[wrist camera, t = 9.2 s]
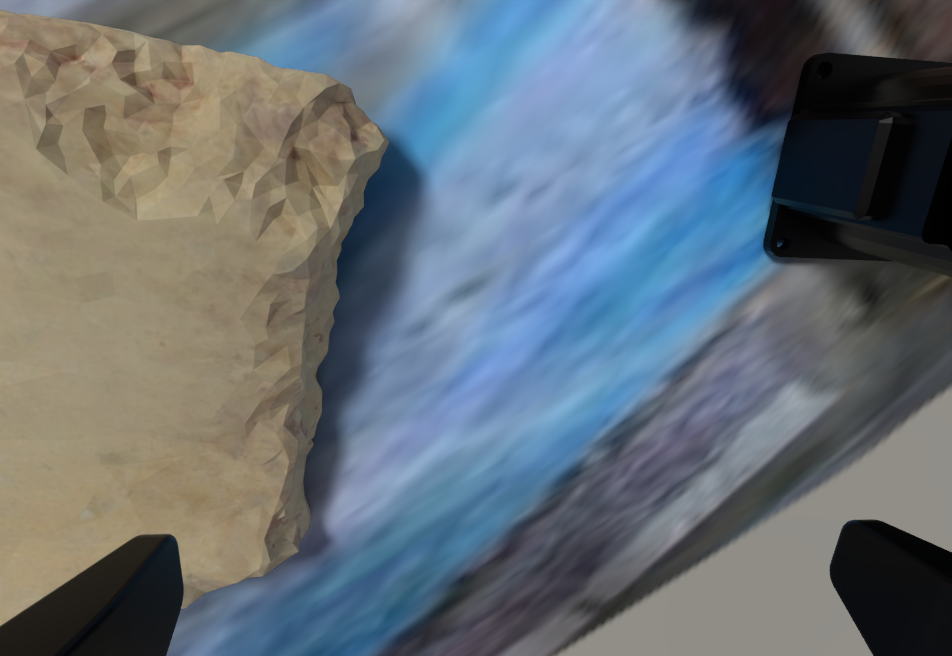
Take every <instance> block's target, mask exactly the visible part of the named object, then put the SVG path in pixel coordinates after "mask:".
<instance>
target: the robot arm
mask: <svg viewBox="0 0 952 656" xmlns="http://www.w3.org/2000/svg"><path fill="white" fill-rule="evenodd" d="M820 64H822V65H823V67H824V72H823V75H822V76H821V77H820V78H819V77H818V75H817V69H818V67H819V65H820ZM772 197H773V202H772V206H771V211H770V215H769V219H768V224H767V228H766V233H765V237H764V248H765V250H766V251H767V252H768V253H770V254H773V255H775V256H779V257H796V258H823V259H849V260H876V261H896V262H899V263H903V264H906V265H910V266H914V267H917V268H921V269H924V270H928V271H932V272H935V273H939V274H942V275H946V276H949V277H952V63H944V62H932V61H921V60H909V59H897V58H885V57H873V56H861V55H849V54H837V53H824V54H818V55H814V56H812V57H811V58H809V59H808V60H807V61H806V63H805V64H804V66H803V69H802V72H801V77H800V81H799V86H798V90H797V95H796V99H795V104H794V108H793V112H792V117H791V120H790V121H789V122H788V125H787V129H786V134H785V138H784V143H783V147H782V152H781V156H780V161H779V165H778V169H777V174H776V178H775V183H774V187H773V192H772ZM782 236H783V237H784V242H783V244H782V245H781V246H780V247H777V241H778V239H779V238H780V237H782ZM830 577H831V581H832V583H833V586H834V588H835V589H836V591H837V593H838V595H839V596H840V598H841V600H842V602H843V603H844V605H845V607H846V609H847V610H848V612H849V614H850V616H851V617H852V619H853V621H854V622H855V624H856V626H857V628H858V630H859V631H860V633H861V635H862V637H863V638H864V640H865V642H866V644H867V645H868V647H869V649H870V651H871V652H872V654H873V656H952V552H949V551H947V550H945V549H943V548H941V547H938V546H936V545H934V544H932V543H929V542H927V541H925V540H922V539H920V538H918V537H916V536H914V535H911V534H909V533H907V532H905V531H902V530H900V529H898V528H896V527H894V526H891V525H889V524H887V523H884V522H882V521H879V520H852V521H849V522H847V523H846V524H845V525H844V526H843V528H842V530H841V533H840V536H839V539H838V542H837V545H836V548H835V551H834V555H833V557H832V561H831V564H830ZM183 595H184V584H183V577H182V569H181V562H180V555H179V547H178V542H177V540H176V538H175V537H174V536H173V535H171V534H143V535H138V536H136V537H134V538H132V539H131V540H129V541H128V542H126V543H125V544H123V545H121V546H120V547H118V548H117V549H115V550H114V551H112V552H111V553H109V554H108V555H106V556H105V557H103V558H102V559H100V560H99V561H97V562H96V563H94V564H93V565H91V566H90V567H88V568H87V569H85V570H84V571H82V572H81V573H79V574H78V575H76V576H75V577H73V578H72V579H70V580H69V581H67V582H66V583H64V584H63V585H61V586H60V587H58V588H57V589H55V590H54V591H52V592H51V593H49V594H48V595H46V596H45V597H43V598H42V599H40V600H38V601H37V602H35V603H34V604H32V605H31V606H29V607H28V608H26V609H25V610H23V611H22V612H20V613H19V614H17V615H16V616H14V617H13V618H11V619H10V620H8V621H7V622H5V623H4V624H2V625H1V626H0V656H166V654H167V651H168V648H169V645H170V642H171V638H172V635H173V632H174V629H175V626H176V623H177V620H178V616H179V613H180V610H181V607H182V602H183Z"/></svg>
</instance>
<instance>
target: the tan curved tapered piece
mask: <svg viewBox="0 0 952 656" xmlns="http://www.w3.org/2000/svg"><path fill="white" fill-rule="evenodd" d="M388 144H389V142H388V139H387V138H386V136H385V135H384V134H383V132H382V131H381V129H380V128H379V127H378V125H376V124H375V123H373V122H371V121H370V119H369V118H368V117H367V116H366V114H365V113H364V112H363V111H362V110H361V109H360V108H359V107H357V106H356V103H355V100H354V97H353V93H352V90H351V88H349V87H347V86H346V85H344V84H342V83H341V82H339V81H337V80H335V79H334V78H332V77H330V76H329V75H326V74H320V73H313V72H307V71H301V70H294V69H286V68H278V67H275V66H273V65H271V64H269V63H267V62H266V61H264V60H262V59H260V58H258V57H254V56H249V55H244V54H239V53H234V52H230V51H229V52H224V53H219V52H217V51H214V50H211V49H209V48H206V47H204V46H201V45H195V46H182V45H179V44H176V43H173V42H170V41H167V40H162V39H157V38H152V37H148V36H145V35H141V34H138V33H135V32H131V31H127V30H122V29H117V28H112V27H106V26H101V25H96V24H91V23H85V22H78V21H71V20H64V19H57V18H50V17H44V16H37V15H30V14H16V13H11V12H7V11H3V10H0V626H1V625H2V624H4V623H5V622H7V621H8V620H10V619H11V618H13V617H14V616H16V615H17V614H19V613H20V612H22V611H23V610H25V609H26V608H28V607H29V606H31V605H32V604H34V603H35V602H37V601H38V600H40V599H42V598H43V597H45V596H46V595H48V594H49V593H51V592H52V591H54V590H55V589H57V588H58V587H60V586H61V585H63V584H64V583H66V582H67V581H69V580H70V579H72V578H73V577H75V576H76V575H78V574H79V573H81V572H82V571H84V570H85V569H87V568H88V567H90V566H91V565H93V564H94V563H96V562H97V561H99V560H100V559H102V558H103V557H105V556H106V555H108V554H109V553H111V552H112V551H114V550H115V549H117V548H118V547H120V546H121V545H123V544H125V543H126V542H128V541H129V540H131V539H132V538H134V537H136V536H138V535H143V534H171V535H173V536H174V537H175V538H176V540H177V542H178V547H179V555H180V562H181V569H182V577H183V584H184V595H183V602H182V607H181V608H183V609H185V608H187V607H188V606H189V605H191V604H192V603H193V602H195V601H196V600H197V599H199V598H200V597H201V596H203V595H204V594H205V593H206V592H209V591H212V590H215V589H218V588H221V587H225V586H228V585H231V584H235V583H238V582H240V581H243V580H245V579H247V578H251V577H262V576H264V575H265V574H267V573H268V572H270V571H271V570H273V569H274V568H276V567H277V566H279V565H280V564H281V563H283V562H284V561H285V560H287V559H288V558H290V557H291V556H292V555H294V554H295V553H297V552H299V544H300V542H301V540H302V538H303V537H304V535H305V533H306V531H307V530H308V528H309V526H310V509H309V506H308V503H307V500H306V498H305V495H304V484H303V478H304V472H305V465H306V458H307V455H308V453H309V452H310V450H311V448H312V447H313V445H314V443H313V442H312V440H311V439H312V438H313V437H314V435H315V431H316V427H317V423H318V421H319V418H320V416H321V414H322V389H321V387H320V385H319V383H318V382H317V380H316V375H317V369H318V366H319V365H320V363H321V362H322V361H323V359H324V357H325V356H326V354H327V352H328V345H329V334H330V331H331V329H332V327H333V324H334V322H335V321H334V317H333V310H334V308H335V306H336V304H337V302H338V300H339V298H340V295H339V290H338V288H337V285H336V277H337V259H338V256H339V254H340V252H341V243H342V241H343V240H344V238H345V237H346V235H347V234H348V232H349V228H350V227H351V226H352V223H353V220H354V217H355V216H356V215H357V214H358V213H359V211H360V210H361V209H362V208H363V207H364V190H365V187H366V184H367V181H368V179H369V178H370V177H371V176H372V175H373V174H374V173H375V172H376V171H377V170H378V169H379V167H380V163H381V159H382V155H384V153H385V151H386V148H387V146H388Z"/></svg>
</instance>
